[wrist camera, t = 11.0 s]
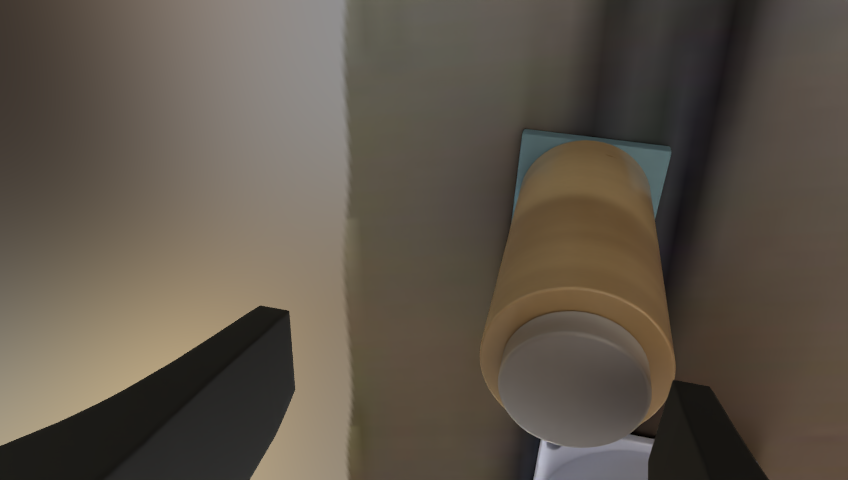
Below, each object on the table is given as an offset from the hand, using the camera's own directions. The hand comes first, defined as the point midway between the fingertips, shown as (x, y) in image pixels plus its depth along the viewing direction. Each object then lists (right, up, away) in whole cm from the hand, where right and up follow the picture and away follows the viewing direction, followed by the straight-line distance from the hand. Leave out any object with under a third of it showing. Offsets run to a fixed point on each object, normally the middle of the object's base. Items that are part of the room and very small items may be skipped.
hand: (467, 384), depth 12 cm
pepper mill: (+4, +4, +8) cm, 10 cm away
